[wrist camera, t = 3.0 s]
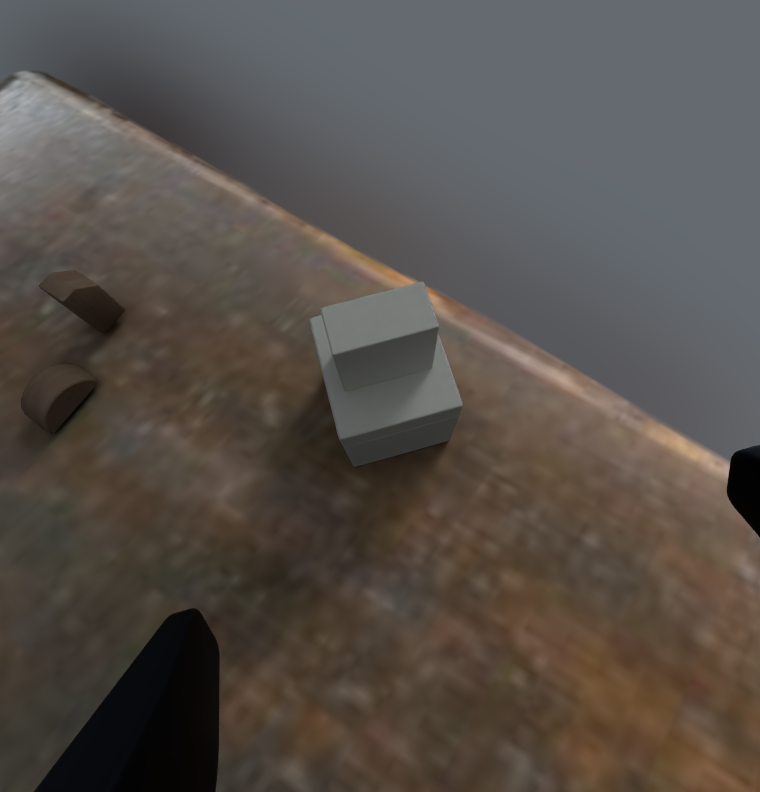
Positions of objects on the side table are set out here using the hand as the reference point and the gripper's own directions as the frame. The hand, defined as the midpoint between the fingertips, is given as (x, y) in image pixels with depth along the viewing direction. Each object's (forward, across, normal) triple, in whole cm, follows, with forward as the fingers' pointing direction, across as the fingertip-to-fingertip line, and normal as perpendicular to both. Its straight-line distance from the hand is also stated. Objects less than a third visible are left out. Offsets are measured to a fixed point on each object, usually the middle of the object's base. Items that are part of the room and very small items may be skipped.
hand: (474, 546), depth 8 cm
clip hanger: (+14, 0, +4) cm, 14 cm away
